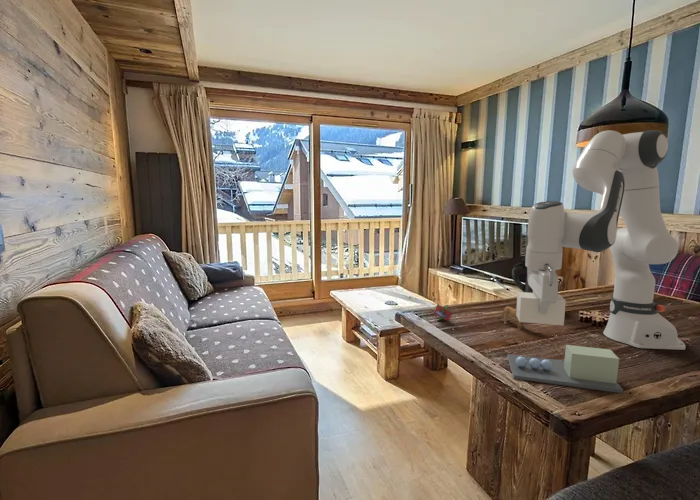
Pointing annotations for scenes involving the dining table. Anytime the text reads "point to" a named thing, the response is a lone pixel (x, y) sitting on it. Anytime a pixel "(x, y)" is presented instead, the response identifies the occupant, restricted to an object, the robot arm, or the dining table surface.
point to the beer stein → (515, 277)
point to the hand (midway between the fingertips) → (539, 309)
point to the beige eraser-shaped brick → (530, 310)
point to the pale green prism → (591, 364)
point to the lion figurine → (511, 312)
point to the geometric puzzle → (442, 313)
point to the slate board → (556, 375)
